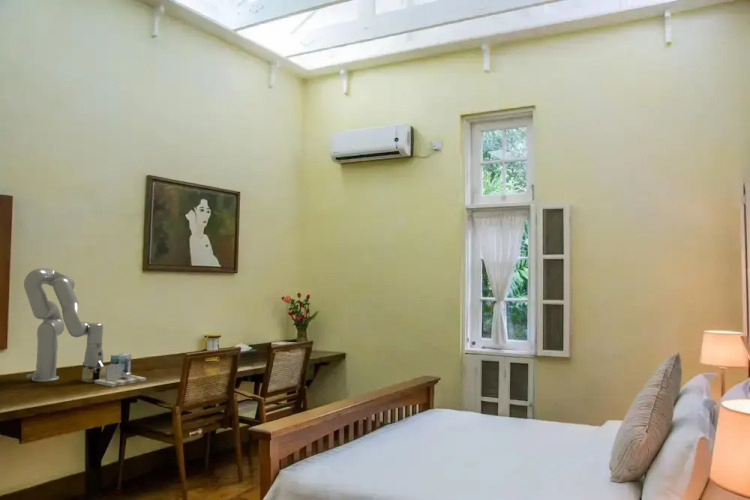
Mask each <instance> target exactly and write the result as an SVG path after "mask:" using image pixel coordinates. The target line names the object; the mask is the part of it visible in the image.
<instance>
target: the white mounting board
mask: <svg viewBox="0 0 750 500" xmlns="http://www.w3.org/2000/svg"><path fill="white" fill-rule="evenodd" d="M105 379H106V378H105ZM105 379H99V380H95V382H94V384H97V385H102V386H107V387H112V388H113V387H114V388H115V387H119V386H125V385H129V384H134V383H139V382H144V381H145V382H146V381H147V377H144V376H138V375H134V374H131V378H130V379H119V380H113V381H108V382H105Z"/></svg>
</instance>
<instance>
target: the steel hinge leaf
mask: <svg viewBox="0 0 750 500" xmlns="http://www.w3.org/2000/svg"><path fill="white" fill-rule="evenodd" d="M121 365H122V364H121V363H120V364H113V365H110V364H108V365H107V364H106V365H105V366H106V379H105V382H108V381H113V380H119V379H130V378H131V375H132V372H131V371H130V372H128V359H126V360H125V367H124V372H121Z"/></svg>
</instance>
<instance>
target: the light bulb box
mask: <svg viewBox="0 0 750 500" xmlns="http://www.w3.org/2000/svg"><path fill="white" fill-rule="evenodd" d="M126 359H128V372H131V364H132V363H131V362H132V354H131V353H127V352H126V353H125V352H120V353H116V354H111V355H110V364H109V365H113V364H120V363H121V364H122V365H121V372H124V367H125V360H126Z"/></svg>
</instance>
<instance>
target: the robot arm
mask: <svg viewBox="0 0 750 500" xmlns="http://www.w3.org/2000/svg"><path fill="white" fill-rule="evenodd" d="M43 285H48V286H50V287H52V288H53V291H54V293H55V296H56V298H57V301H58V302H59V305H60V308H61V311H60V309H59V307H58V305H57V304H56V302H54V301H52V300H48V297H47V294H46V292H45V290H44V288H43ZM23 287H24V288H23V289H24V291H25V294H26V297H27V299H28V302H29V305H30V308H31V311H32V314H33V316H34V317H35V318H36V319H38V320H42V322H41V323H40V324H39V325H38V327H37V330H36V336H37V337H36V339H37V346H36V347H37V348H36V349H37V352H36V364H35V365H36V366H35V370H34V371H33V373H28V374H26V378H27V379H31V380H32V381H33V382H42V383H43V382H45V383H46V382H54V381H57V380H59V379H60V376H58V375H57V362H58V360H57V359H58V343H59V342H58V336H61V334H62V333H63V332H64V331H65V327H66V330H67V332H68V334H69V335H70V336H71V337H74V338H80V337H83V336H87V337H86V348H85V352H84V357H83V358H84V359H83V360H84V361H83V362H82V365H83V366H84V367H83V368H86V367H94V371H95V373H94V378H93V380H99V374H100V372H101V370H102V368H103V366H104V352H103V351H104V350H103V333H104V325H103V323H101V322H86V321H81V320H80V319H79V314H78V306H79V300H78V298H77V295H76V294H75V291H74V289H75V281H74V279H73V278H71V277H70V276H67V275H66V274H65V275H64V274H63V273H60V272H58V271H57V270H54V269H51V268H46V267H45V268H36V269H33V270H32V271H31V270H30V272H29V273H27V275H26V276H25V278H24V282H23ZM61 313H62V314H61ZM96 368H98V369H96Z"/></svg>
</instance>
